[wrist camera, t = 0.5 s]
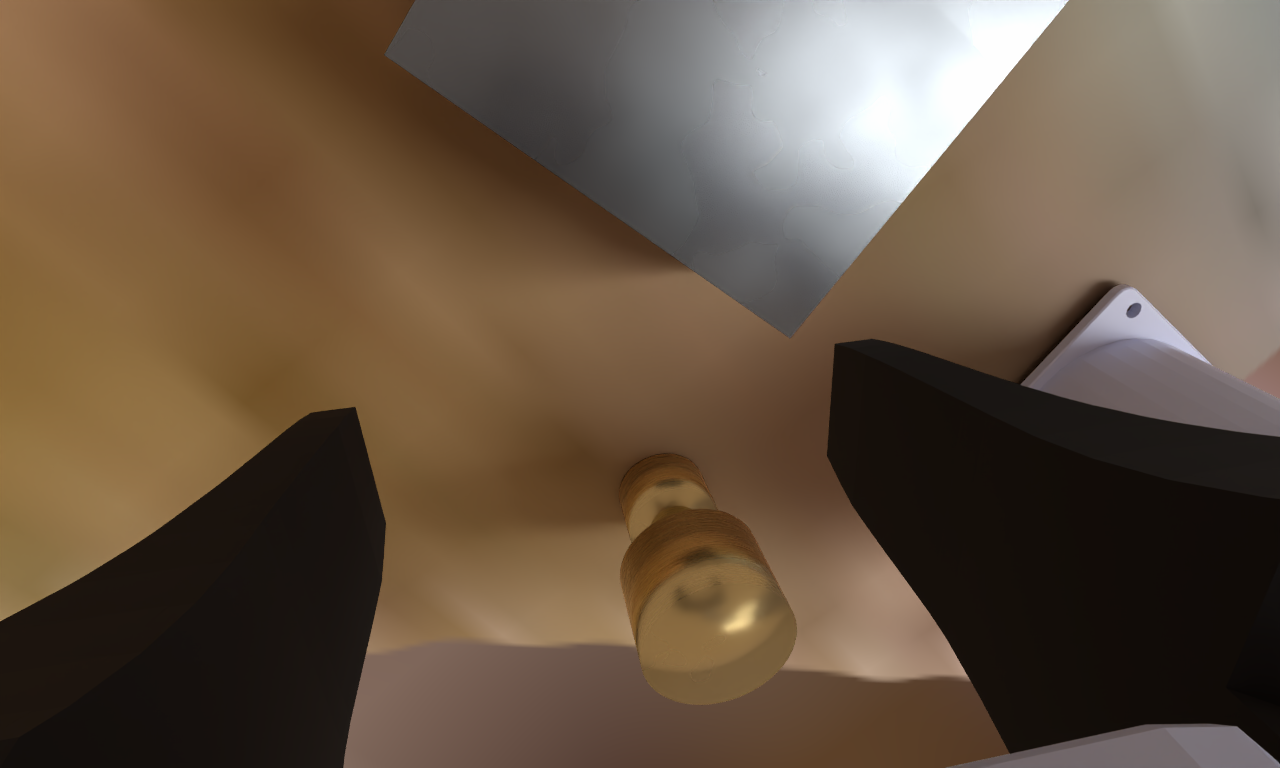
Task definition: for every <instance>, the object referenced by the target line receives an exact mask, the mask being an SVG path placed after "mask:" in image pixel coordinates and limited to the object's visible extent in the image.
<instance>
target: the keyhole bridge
mask: <svg viewBox="0 0 1280 768" xmlns="http://www.w3.org/2000/svg"><path fill="white" fill-rule="evenodd" d="M1068 1H1069V0H415V2H414V3H413V5H412V7H411V9H410V10H409V12H408V14H407V16H406V17H405V19H404V21H403V23H402V24H401V26H400V28H399V30H398V31H397V33H396V35H395V37H394V38H393V40H392V42H391V44H390V45H389V47H388V49H387V51H386V52H385V54H384V55H385V56H386V57H388V58H389V59H391V60H392V61H394V62H395V63H396V64H398V65H399V66H401V67H402V68H404V69H405V70H406V71H408V72H409V73H411V74H412V75H414V76H415V77H416V78H418V79H419V80H421V81H422V82H424V83H425V84H426V85H428V86H429V87H431V88H432V89H434V90H435V91H436V92H438V93H439V94H441V95H442V96H444V97H445V98H447V99H448V100H449V101H451V102H452V103H454V104H455V105H457V106H458V107H459V108H461V109H462V110H464V111H465V112H467V113H468V114H469V115H471V116H472V117H474V118H475V119H477V120H478V121H479V122H481V123H482V124H484V125H485V126H487V127H488V128H489V129H491V130H492V131H494V132H495V133H497V134H498V135H499V136H501V137H502V138H504V139H505V140H507V141H508V142H510V143H511V144H512V145H514V146H515V147H517V148H518V149H520V150H521V151H522V152H524V153H525V154H527V155H528V156H530V157H531V158H532V159H534V160H535V161H537V162H538V163H540V164H541V165H542V166H544V167H545V168H547V169H548V170H550V171H551V172H552V173H554V174H555V175H557V176H558V177H560V178H561V179H563V180H564V181H565V182H567V183H568V184H570V185H571V186H573V187H574V188H575V189H577V190H578V191H580V192H581V193H583V194H584V195H585V196H587V197H588V198H590V199H591V200H593V201H594V202H595V203H597V204H598V205H600V206H601V207H603V208H604V209H605V210H607V211H608V212H610V213H611V214H613V215H614V216H616V217H617V218H618V219H620V220H621V221H623V222H624V223H626V224H627V225H628V226H630V227H631V228H633V229H634V230H636V231H637V232H638V233H640V234H641V235H643V236H644V237H646V238H647V239H648V240H650V241H651V242H653V243H654V244H656V245H657V246H658V247H660V248H661V249H663V250H664V251H666V252H667V253H668V254H670V255H671V256H673V257H674V258H676V259H677V260H679V261H680V262H681V263H683V264H684V265H686V266H687V267H689V268H690V269H691V270H693V271H694V272H696V273H697V274H699V275H700V276H701V277H703V278H704V279H706V280H707V281H709V282H710V283H711V284H713V285H714V286H716V287H717V288H719V289H720V290H721V291H723V292H724V293H726V294H727V295H729V296H730V297H732V298H733V299H734V300H736V301H737V302H739V303H740V304H742V305H743V306H744V307H746V308H747V309H749V310H750V311H752V312H753V313H754V314H756V315H757V316H759V317H760V318H762V319H763V320H764V321H766V322H767V323H769V324H770V325H772V326H773V327H774V328H776V329H777V330H779V331H780V332H782V333H783V334H785V335H786V336H787V337H789V338H791V337H792V335H793V334H794V333H795V332H796V331H797V329H798V328H799V327H800V326H801V325H802V323H803V322H804V321H805V320H806V318H807V317H808V316H809V315H810V314H811V312H812V311H813V310H814V309H815V308H816V306H817V305H818V304H819V303H820V301H821V300H822V299H823V298H824V297H825V295H826V294H827V293H828V292H829V291H830V289H831V288H832V287H833V286H834V284H835V283H836V282H837V281H838V280H839V278H840V277H841V276H842V275H843V274H844V272H845V271H846V270H847V269H848V268H849V266H850V265H851V264H852V263H853V261H854V260H855V259H856V258H857V257H858V255H859V254H860V253H861V252H862V251H863V249H864V248H865V247H866V246H867V244H868V243H869V242H870V241H871V240H872V238H873V237H874V236H875V235H876V234H877V232H878V231H879V230H880V229H881V227H882V226H883V225H884V224H885V223H886V221H887V220H888V219H889V218H890V217H891V215H892V214H893V213H894V212H895V210H896V209H897V208H898V207H899V206H900V204H901V203H902V202H903V201H904V200H905V198H906V197H907V196H908V195H909V193H910V192H911V191H912V190H913V189H914V187H915V186H916V185H917V184H918V183H919V181H920V180H921V179H922V178H923V176H924V175H925V174H926V173H927V172H928V170H929V169H930V168H931V167H932V166H933V164H934V163H935V162H936V161H937V159H938V158H939V157H940V156H941V155H942V153H943V152H944V151H945V150H946V149H947V147H948V146H949V145H950V144H951V142H952V141H953V140H954V139H955V138H956V136H957V135H958V134H959V133H960V132H961V130H962V129H963V128H964V127H965V126H966V124H967V123H968V122H969V121H970V119H971V118H972V117H973V116H974V115H975V113H976V112H977V111H978V110H979V109H980V107H981V106H982V105H983V104H984V102H985V101H986V100H987V99H988V98H989V96H990V95H991V94H992V93H993V92H994V90H995V89H996V88H997V87H998V85H999V84H1000V83H1001V82H1002V81H1003V79H1004V78H1005V77H1006V76H1007V75H1008V73H1009V72H1010V71H1011V70H1012V68H1013V67H1014V66H1015V65H1016V64H1017V62H1018V61H1019V60H1020V59H1021V58H1022V56H1023V55H1024V54H1025V53H1026V51H1027V50H1028V49H1029V48H1030V47H1031V45H1032V44H1033V43H1034V42H1035V41H1036V39H1037V38H1038V37H1039V36H1040V34H1041V33H1042V32H1043V31H1044V30H1045V28H1046V27H1047V26H1048V25H1049V24H1050V22H1051V21H1052V20H1053V19H1054V17H1055V16H1056V15H1057V14H1058V13H1059V11H1060V10H1061V9H1062V8H1063V7H1064V5H1065V4H1066V3H1067V2H1068Z"/></svg>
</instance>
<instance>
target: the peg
mask: <svg viewBox="0 0 1280 768" xmlns="http://www.w3.org/2000/svg"><path fill="white" fill-rule="evenodd" d="M619 500H620V504H621V507H622V511H623V514H624V518H625V521H626V525H627V528H628V532H629V535H630V539H631V543H632V544H631V545H630V546H629V548H628V550H627V552H626V553H625V556H624V558H623V561H622V565H621V569H620V580H621V586H622V590H623V594H624V599H625V603H626V607H627V611H628V615H629V619H630V623H631V627H632V631H633V635H634V640H635V644H636V648H637V652H638V655H639V660H640V664H641V668H642V671H643V675H644V676H645V678H646V680H647V682H648V683H649V684H650V686H651V687H652V688H653V689H655V691H657V692H658V693H659V694H661V695H662V696H664V697H666V698H668V699H671V700H673V701H677V702H680V703H686V704H695V705H706V704H715V703H721V702H725V701H729V700H732V699H735V698H738V697H740V696H743V695H745V694H747V693H749V692H751V691H753V690H755V689H756V688H758V687H760V686H761V685H763V684H764V683H765V682H767V681H768V680H769V679H771V678H772V677H773V676H774V675H775V674H776V673H777V672H778V671H779V670H780V668H781V667H782V666H783V665H784V663H785V662H786V661H787V659H788V658H789V656H790V654H791V652H792V650H793V647H794V644H795V640H796V635H797V626H796V620H795V617H794V614H793V611H792V610H791V608H790V606H789V604H788V602H787V600H786V598H785V596H784V594H783V592H782V590H781V588H780V586H779V584H778V582H777V580H776V578H775V576H774V575H773V573H772V571H771V569H770V567H769V565H768V563H767V561H766V559H765V557H764V555H763V553H762V551H761V549H760V547H759V545H758V543H757V541H756V539H755V538H754V536H753V534H752V532H751V531H750V529H749V528H748V527H747V526H746V525H745V524H744V523H743V522H742V521H741V520H739V519H738V518H736V517H735V516H732V515H730V514H728V513H725V512H722V511H718V509H717V507H716V505H715V503H714V500H713V498H712V496H711V494H710V492H709V490H708V488H707V486H706V483H705V481H704V479H703V477H702V475H701V473H700V471H699V469H698V468H697V466H696V465H695V464H694V463H693V462H692V461H690V460H689V459H687V458H685V457H683V456H679V455H675V454H659V455H654V456H650V457H648V458H645V459H643V460H642V461H640V462H638V463H637V464H635V465H634V466H633V467H632V468H631V469H630V470H629V471H628V472H627V474H626V475H625V476H624V478H623V480H622V483H621V485H620V490H619Z"/></svg>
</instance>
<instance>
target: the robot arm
mask: <svg viewBox="0 0 1280 768" xmlns="http://www.w3.org/2000/svg"><path fill="white" fill-rule="evenodd" d="M1131 305H1132V306H1131ZM1129 306H1131V308H1130V309H1129V311H1127V309H1128V308H1129ZM827 457H828V459H829V461H830V463H831V465H832V467H833V469H834V471H835V473H836V475H837V477H838V479H839V481H840V483H841V485H842V487H843V489H844V491H845V493H846V495H847V496H848V498H849V500H850V502H851V504H852V506H853V507H854V509H855V510H856V511H857V513H858V514H859V516H860V517H861V519H862V520H863V522H864V523H865V524H866V526H867V527H868V529H869V530H870V531H871V533H872V534H873V536H874V537H875V538H876V540H877V541H878V543H879V544H880V545H881V547H882V548H883V550H884V551H885V552H886V554H887V555H888V556H889V558H890V559H891V560H892V562H893V563H894V565H895V566H896V567H897V569H898V570H899V571H900V573H901V574H902V576H903V577H904V578H905V580H906V581H907V582H908V584H909V585H910V587H911V588H912V589H913V591H914V592H915V593H916V595H917V596H918V598H919V599H920V600H921V602H922V603H923V604H924V606H925V607H926V609H927V610H928V611H929V613H930V614H931V616H932V617H933V619H934V620H935V622H936V623H937V625H938V626H939V628H940V629H941V631H942V632H943V634H944V635H945V637H946V639H947V640H948V642H949V644H950V645H951V647H952V649H953V651H954V652H955V654H956V656H957V658H958V659H959V661H960V663H961V665H962V666H963V668H964V670H965V672H966V674H967V675H968V677H969V679H970V681H971V682H972V684H973V686H974V688H975V689H976V691H977V693H978V694H979V696H980V698H981V700H982V702H983V704H984V706H985V707H986V710H987V711H988V713H989V715H990V717H991V719H992V721H993V723H994V724H995V727H996V728H997V730H998V732H999V734H1000V736H1001V738H1002V740H1003V742H1004V743H1005V745H1006V747H1007V749H1008V751H1009V753H1010V754H1007V755H1002V756H998V757H993V758H989V759H984V760H979V761H975V762H970V763H965V764H961V765H956V766H952V767H948V768H1280V399H1279V398H1277V397H1275V396H1272V395H1270V394H1268V393H1266V392H1264V391H1262V390H1260V389H1258V388H1256V387H1254V386H1252V385H1250V384H1248V383H1246V382H1244V381H1242V380H1240V379H1238V378H1236V377H1234V376H1232V375H1230V374H1228V373H1226V372H1224V371H1222V370H1220V369H1218V368H1216V367H1214V366H1212V365H1211V364H1210V363H1209V362H1208V361H1207V360H1206V359H1205V358H1204V357H1203V356H1202V355H1201V354H1200V353H1199V352H1198V351H1197V350H1196V349H1195V348H1194V347H1193V346H1192V345H1191V344H1190V343H1189V342H1188V341H1187V340H1186V339H1185V338H1184V337H1183V336H1182V334H1181V333H1180V332H1179V331H1178V330H1177V329H1176V328H1175V327H1174V326H1173V325H1172V324H1171V323H1170V322H1169V321H1168V320H1167V319H1166V318H1165V317H1164V316H1163V315H1162V314H1161V313H1160V312H1159V311H1158V310H1157V309H1156V308H1155V307H1154V306H1153V305H1152V304H1151V303H1150V302H1149V301H1148V300H1147V299H1146V298H1145V297H1144V296H1143V295H1142V294H1141V293H1140V292H1139V291H1138V290H1137V289H1135V288H1133V287H1131V286H1128V285H1126V284H1120V285H1117V286H1115V287H1113V288H1112V289H1111V290H1110V291H1109V292H1108V293H1107V294H1106V295H1105V296H1104V297H1103V298H1102V299H1101V300H1100V301H1099V302H1098V303H1097V304H1096V305H1095V306H1094V307H1093V308H1092V310H1091V311H1090V312H1089V313H1088V314H1087V315H1086V316H1085V317H1084V318H1083V319H1082V320H1081V321H1080V322H1079V323H1078V324H1077V325H1076V326H1075V327H1074V329H1073V330H1072V331H1071V332H1070V333H1069V334H1068V335H1067V336H1066V337H1065V338H1064V339H1063V340H1062V341H1061V342H1060V343H1059V344H1058V345H1057V347H1056V348H1055V349H1054V350H1053V351H1052V352H1051V353H1050V354H1049V355H1048V356H1047V357H1046V358H1045V359H1044V360H1043V361H1042V362H1041V363H1040V364H1039V366H1038V367H1037V368H1036V369H1035V370H1034V371H1033V372H1032V373H1031V374H1030V375H1029V376H1028V377H1027V378H1026V379H1025V380H1024V381H1023V382H1022V383H1021V385H1019V384H1016V383H1013V382H1010V381H1007V380H1003V379H1000V378H997V377H994V376H991V375H988V374H985V373H982V372H979V371H976V370H973V369H970V368H967V367H964V366H961V365H958V364H955V363H953V362H950V361H947V360H944V359H941V358H938V357H935V356H932V355H929V354H926V353H923V352H920V351H917V350H914V349H910V348H907V347H904V346H901V345H897V344H893V343H890V342H885V341H881V340H875V339H868V340H861V341H853V342H845V343H838V344H835V348H834V363H833V377H832V392H831V406H830V420H829V435H828V449H827ZM385 528H386V522H385V518H384V514H383V510H382V507H381V503H380V499H379V495H378V491H377V488H376V484H375V480H374V476H373V472H372V469H371V465H370V461H369V457H368V453H367V450H366V446H365V442H364V438H363V434H362V431H361V427H360V423H359V419H358V415H357V412H356V408H355V407H351V408H343V409H336V410H328V411H321V412H313V413H310V414H308V415H307V416H305V417H303V418H302V419H300V420H299V421H298V422H296V423H295V424H294V425H292V426H291V427H290V428H288V429H287V430H286V431H285V432H283V433H282V434H281V435H280V436H278V437H277V438H276V439H275V440H273V441H272V442H271V443H270V444H269V445H267V446H266V447H265V448H264V449H263V450H261V451H260V452H259V453H258V454H256V455H255V456H254V457H253V458H251V459H250V460H249V461H248V462H246V463H245V464H244V465H243V466H242V467H240V468H239V469H238V470H237V471H235V472H234V473H233V474H232V475H230V476H229V477H228V478H227V479H225V480H224V481H223V482H222V483H220V484H219V485H218V486H216V487H215V488H214V489H212V490H211V491H210V492H208V493H207V494H206V495H204V496H203V497H202V498H200V499H199V500H197V501H196V502H195V503H193V504H192V505H191V506H189V507H188V508H187V509H185V510H184V511H183V512H181V513H180V514H179V515H177V516H176V517H174V518H173V519H172V520H170V521H169V522H168V523H166V524H165V525H164V526H162V527H161V528H159V529H158V530H156V531H155V532H154V533H152V534H151V535H149V536H148V537H146V538H145V539H143V540H142V541H140V542H139V543H137V544H135V545H134V546H132V547H131V548H129V549H128V550H126V551H125V552H123V553H121V554H120V555H118V556H117V557H115V558H113V559H112V560H110V561H108V562H107V563H105V564H103V565H102V566H100V567H99V568H97V569H95V570H94V571H92V572H90V573H89V574H87V575H86V576H84V577H82V578H80V579H79V580H77V581H75V582H73V583H72V584H70V585H68V586H66V587H64V588H63V589H61V590H59V591H57V592H55V593H53V594H51V595H49V596H47V597H46V598H44V599H42V600H40V601H38V602H36V603H34V604H32V605H31V606H29V607H27V608H25V609H23V610H21V611H19V612H17V613H15V614H14V615H12V616H10V617H8V618H6V619H4V620H2V621H0V768H343V765H344V756H345V749H346V744H347V738H348V732H349V727H350V721H351V717H352V712H353V707H354V703H355V699H356V695H357V690H358V685H359V681H360V677H361V673H362V668H363V664H364V659H365V655H366V651H367V646H368V642H369V637H370V633H371V629H372V624H373V619H374V615H375V610H376V606H377V601H378V597H379V592H380V587H381V582H382V571H383V559H384V544H385Z"/></svg>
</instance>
